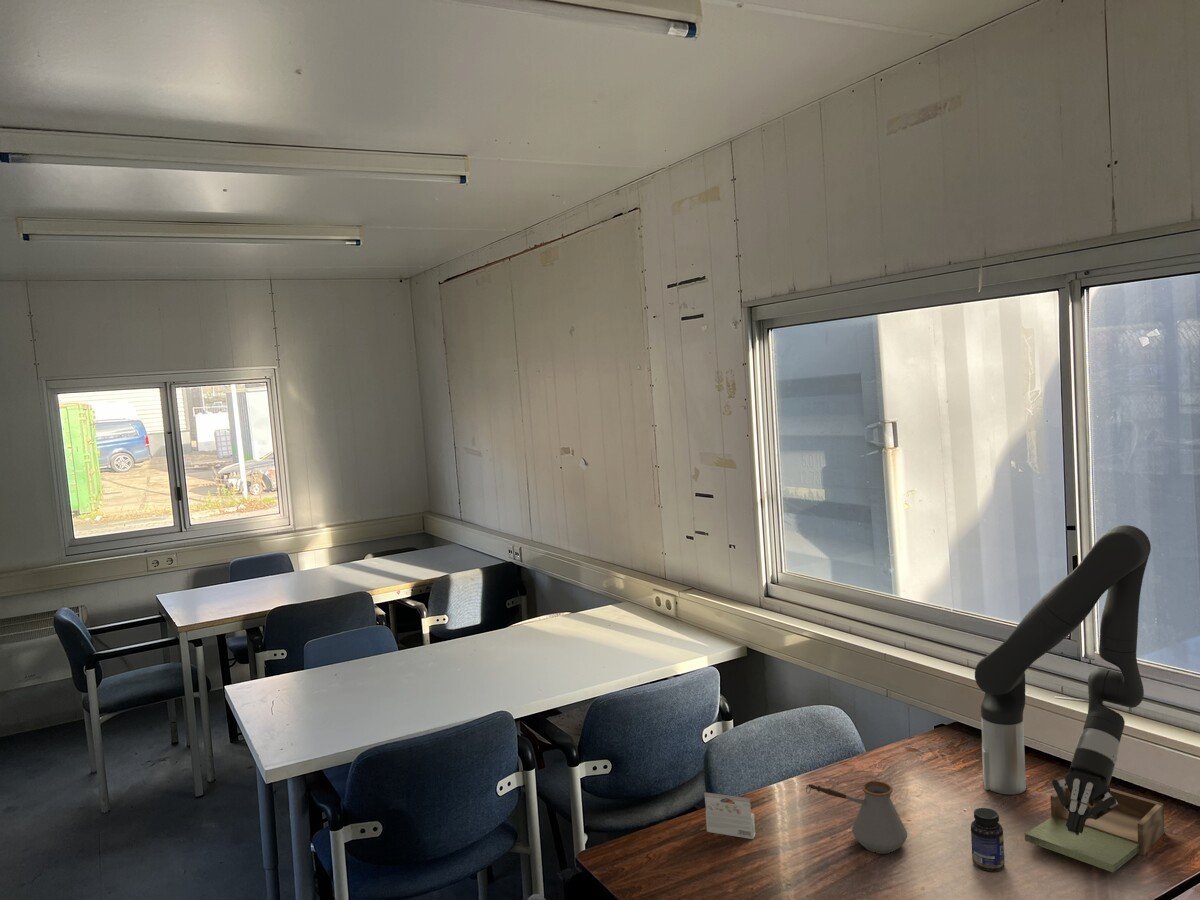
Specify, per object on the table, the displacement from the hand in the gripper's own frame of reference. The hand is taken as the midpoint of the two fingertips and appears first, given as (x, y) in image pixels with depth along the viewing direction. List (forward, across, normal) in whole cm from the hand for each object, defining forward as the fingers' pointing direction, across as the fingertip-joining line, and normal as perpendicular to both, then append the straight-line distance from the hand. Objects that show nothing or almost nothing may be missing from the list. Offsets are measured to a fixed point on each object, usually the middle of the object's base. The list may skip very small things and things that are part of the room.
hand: (1072, 832), depth 175 cm
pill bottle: (+13, -12, -5) cm, 18 cm away
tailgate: (-5, 0, +11) cm, 12 cm away
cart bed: (-8, 0, +16) cm, 18 cm away
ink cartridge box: (+33, -58, -24) cm, 71 cm away
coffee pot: (+22, -35, -13) cm, 43 cm away
